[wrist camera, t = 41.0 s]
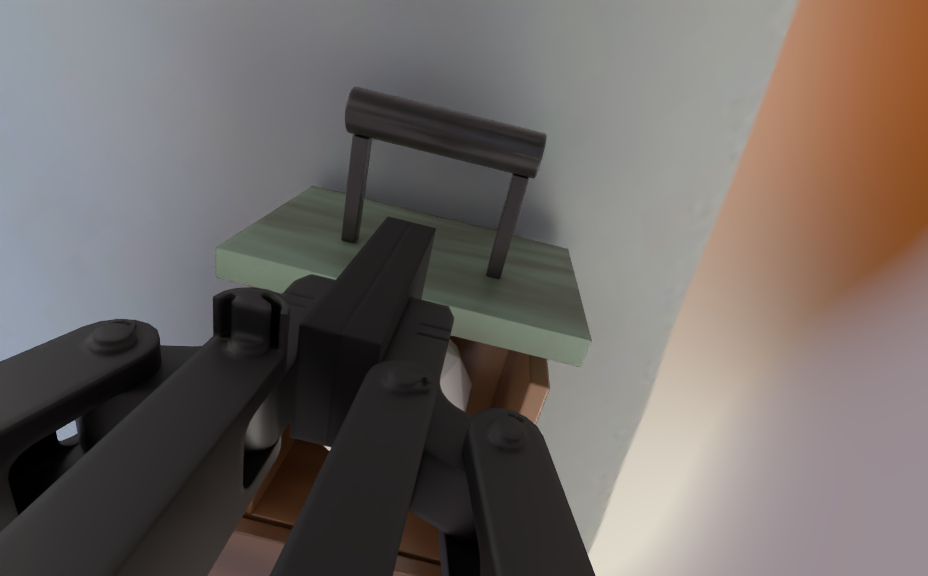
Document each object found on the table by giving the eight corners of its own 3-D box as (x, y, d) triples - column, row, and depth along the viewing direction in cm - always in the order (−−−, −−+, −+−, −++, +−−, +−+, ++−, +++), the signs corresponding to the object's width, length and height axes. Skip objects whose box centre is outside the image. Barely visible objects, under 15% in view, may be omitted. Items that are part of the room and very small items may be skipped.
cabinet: (292, 380, 31) (194, 522, 22) (510, 433, 31) (507, 598, 22) (281, 534, 38) (202, 692, 29) (459, 577, 38) (440, 749, 29)
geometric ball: (384, 306, 29) (288, 289, 22) (508, 335, 26) (444, 326, 18) (356, 431, 29) (248, 456, 21) (478, 477, 25) (399, 525, 18)
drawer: (322, 62, 22) (212, 66, 14) (608, 133, 22) (659, 177, 14) (295, 402, 31) (218, 521, 23) (497, 452, 31) (490, 587, 23)
